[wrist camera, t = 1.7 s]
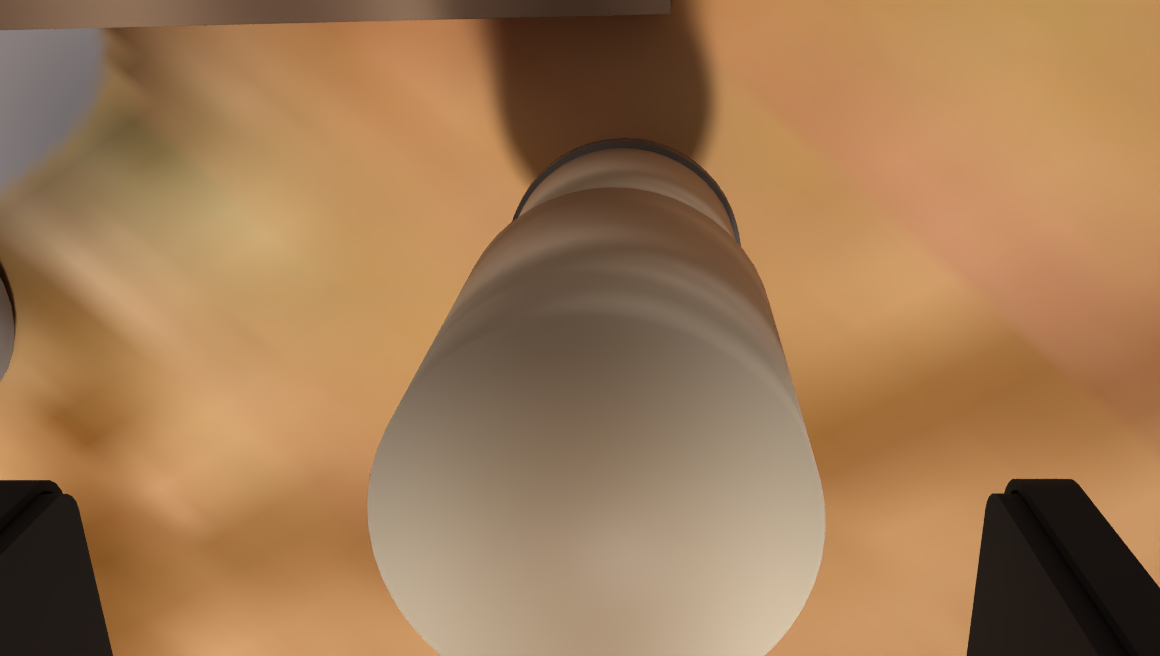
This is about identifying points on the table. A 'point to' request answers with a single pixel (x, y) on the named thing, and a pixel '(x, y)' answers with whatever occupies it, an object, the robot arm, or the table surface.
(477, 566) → the ash leg
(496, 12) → the walnut board
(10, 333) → the travel mug
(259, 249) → the table surface
